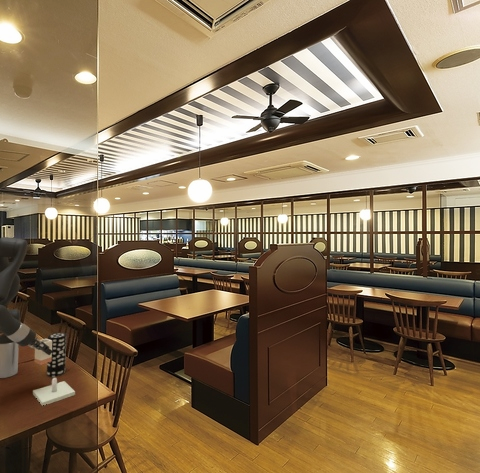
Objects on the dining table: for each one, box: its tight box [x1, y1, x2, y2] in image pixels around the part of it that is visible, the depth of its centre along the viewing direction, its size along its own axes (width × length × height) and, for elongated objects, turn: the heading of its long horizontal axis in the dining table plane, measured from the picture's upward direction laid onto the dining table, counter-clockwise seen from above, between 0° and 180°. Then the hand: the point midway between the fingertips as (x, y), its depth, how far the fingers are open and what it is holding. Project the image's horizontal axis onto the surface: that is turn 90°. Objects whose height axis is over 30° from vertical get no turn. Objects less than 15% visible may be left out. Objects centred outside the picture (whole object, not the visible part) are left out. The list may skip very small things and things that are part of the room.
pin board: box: [32, 377, 76, 407], centre depth 137 cm, size 14×13×8 cm
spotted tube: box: [46, 332, 67, 378], centre depth 158 cm, size 8×8×20 cm
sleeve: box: [34, 338, 52, 366], centre depth 144 cm, size 5×5×10 cm
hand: (47, 351), depth 146 cm, fingers closed on sleeve, 5 cm apart
